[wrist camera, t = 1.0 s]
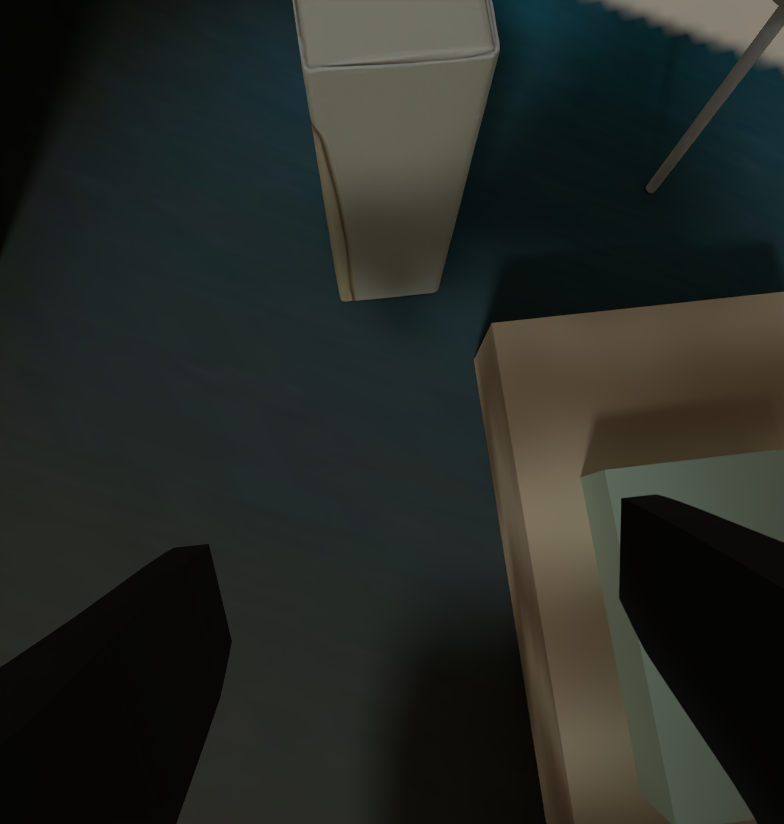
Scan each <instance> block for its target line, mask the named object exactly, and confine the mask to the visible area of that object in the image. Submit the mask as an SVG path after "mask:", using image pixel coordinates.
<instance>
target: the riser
mask: <svg viewBox="0 0 784 824" xmlns="http://www.w3.org/2000/svg"><path fill="white" fill-rule="evenodd" d="M474 364H475V370H476V377H477V383H478V390H479V396H480V402H481V409H482V415H483V422H484V428H485V434H486V441H487V447H488V454H489V460H490V466H491V473H492V479H493V486H494V492H495V498H496V505H497V511H498V518H499V524H500V531H501V537H502V543H503V550H504V556H505V563H506V569H507V575H508V582H509V588H510V595H511V601H512V607H513V614H514V620H515V627H516V633H517V639H518V646H519V652H520V659H521V665H522V671H523V678H524V684H525V691H526V697H527V703H528V710H529V716H530V723H531V729H532V735H533V742H534V748H535V755H536V761H537V767H538V774H539V780H540V787H541V793H542V799H543V806H544V812H545V819H546V824H670V822H669V821H668V820H667V819H666V818H665V817H664V816H663V815H662V814H661V813H660V812H659V811H658V810H657V809H656V808H655V807H654V806H653V805H652V804H651V803H650V802H649V801H648V800H647V799H646V798H645V797H644V796H643V795H642V794H641V791H640V786H639V781H638V776H637V770H636V765H635V760H634V755H633V749H632V744H631V739H630V734H629V729H628V723H627V718H626V713H625V708H624V702H623V697H622V692H621V687H620V682H619V676H618V671H617V666H616V661H615V655H614V650H613V645H612V640H611V635H610V629H609V624H608V619H607V614H606V608H605V603H604V598H603V593H602V588H601V582H600V577H599V572H598V567H597V561H596V556H595V551H594V546H593V541H592V535H591V530H590V525H589V520H588V514H587V509H586V504H585V499H584V493H583V488H582V483H581V478H580V477H583V476H586V475H590V474H593V473H596V472H599V471H602V470H608V469H616V468H625V467H634V466H642V465H651V464H659V463H668V462H676V461H685V460H693V459H702V458H711V457H719V456H728V455H736V454H745V453H753V452H762V451H771V450H779V449H784V292H776V293H767V294H758V295H749V296H739V297H730V298H721V299H711V300H702V301H693V302H683V303H674V304H665V305H655V306H646V307H637V308H627V309H618V310H609V311H599V312H590V313H581V314H571V315H562V316H553V317H543V318H534V319H525V320H515V321H506V322H497V323H492V324H491V326H490V328H489V330H488V332H487V334H486V336H485V338H484V340H483V342H482V344H481V346H480V348H479V350H478V352H477V355H476V357H475V359H474ZM725 824H757V822H756V820H755V819H754V820H746V821H739V822H732V823H725Z"/></svg>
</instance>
